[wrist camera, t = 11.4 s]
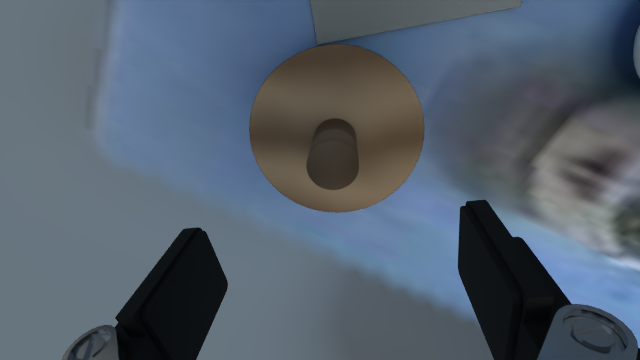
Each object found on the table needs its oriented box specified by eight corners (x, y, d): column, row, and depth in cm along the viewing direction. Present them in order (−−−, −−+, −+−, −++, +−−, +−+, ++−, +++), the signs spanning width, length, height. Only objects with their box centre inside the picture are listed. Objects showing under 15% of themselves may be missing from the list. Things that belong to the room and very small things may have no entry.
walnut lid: (231, 62, 22) (196, 74, 17) (419, 27, 20) (444, 29, 15) (274, 214, 28) (257, 258, 23) (424, 198, 26) (443, 242, 21)
